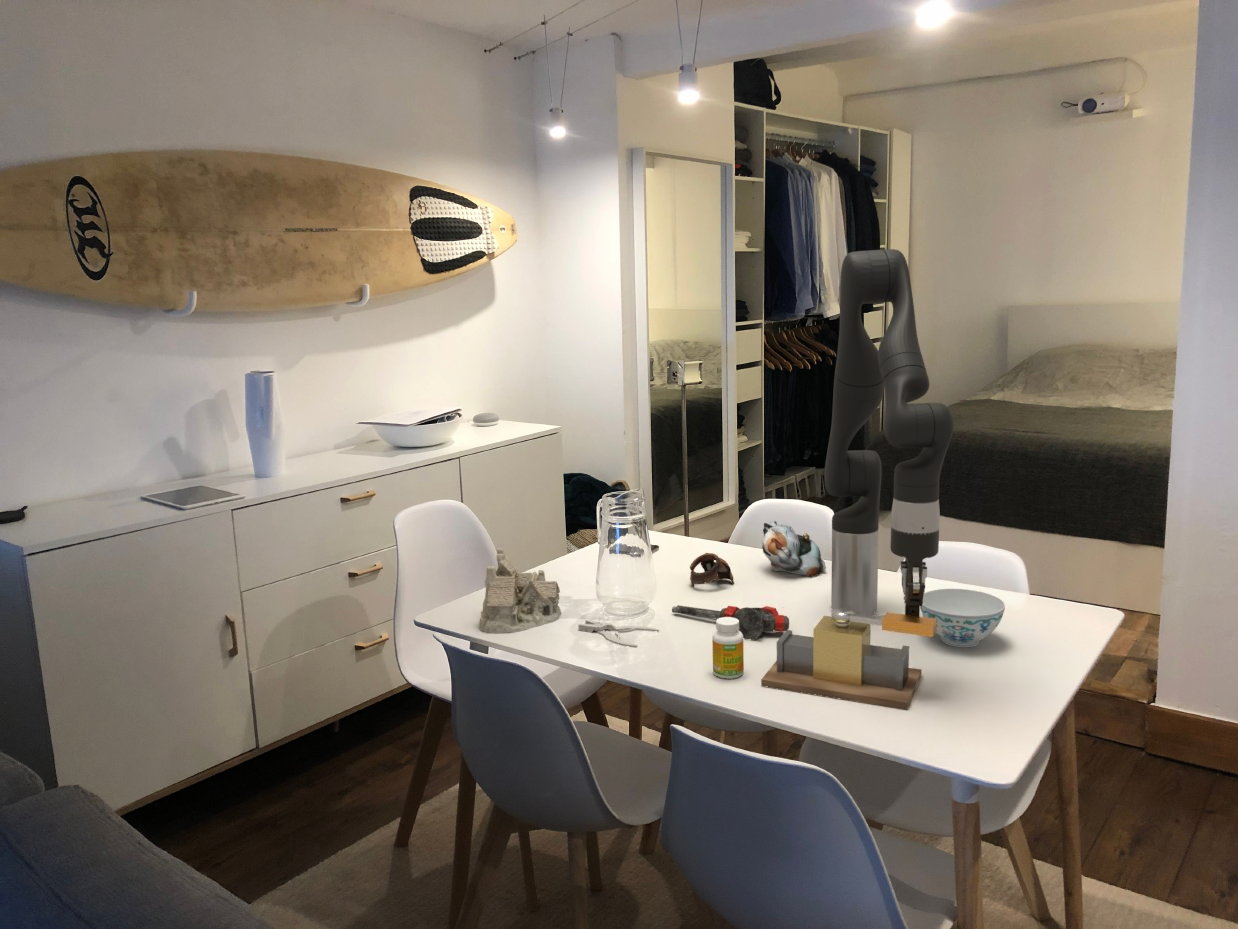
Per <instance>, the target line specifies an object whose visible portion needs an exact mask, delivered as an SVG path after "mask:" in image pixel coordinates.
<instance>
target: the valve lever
mask: <svg viewBox="0 0 1238 929" xmlns="http://www.w3.org/2000/svg"><path fill="white" fill-rule="evenodd" d="M830 617H831V618H832V620H834V621H836V622H858V623H866V624H871V625H873V626H874V625H875V626H880V627H882V628H881V630H882V631H886V632H893V633H899V634H900V633H901V634H907V635H908V634H909V635H915V636H922V637H929V638H934V636H935V634H937V633H936V631H937V619H934V618H927V617H923V616H920V615H919V616H912V615H905V613H895V612H889V611H887V612H886V613H885V615H880V614H874V613H873V614H866V613H859V612H853V611H852V610H850V609H845V608H837V609H833V610H832V609H831V616H830Z"/></svg>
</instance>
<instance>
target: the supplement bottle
mask: <svg viewBox="0 0 1238 929" xmlns="http://www.w3.org/2000/svg"><path fill="white" fill-rule="evenodd" d="M715 620H716V621H715V627H716V628H715V629H716V630H715V631H714V632H713V634H712V638H711V639H712V643H711V644H712V672H713V673H712V674H714V676H715V677H717V676H718V678H721V679H724V678H726V680H732V679H733V678H734V679H737V678H740V677H741V675H742V676H743V674H744V673H745V672H744V670H745V669H744V666H745V664H744V663H745V662H744V660H745V659H744V657H745V656H744V639H743V634H742V633H741V632H740V631H739V620H738V619H736V618H732V617H722V618H719V619H715Z"/></svg>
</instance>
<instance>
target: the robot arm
mask: <svg viewBox="0 0 1238 929" xmlns="http://www.w3.org/2000/svg"><path fill="white" fill-rule="evenodd" d="M839 281H840V284H839V285H840V286H839V329H838V330H839V331H838V332H839V333H838V334H839V335H838V343H837V344H838V345H837V354H836V361H835V362H836V363H835V369H834V379H833V397H832V416H831V427H830V433H829V439H828V444H827V445H828V446H827V452H826V457H825V458H826V459H825V462H824V463H825V465H824V474H823V475H824V487H825V489H826V491H827V493H828V494H829V496H832V497H838V498H842V497H844V498H845V497H860V498H859V499H858V501H856V502H855V503H854V504H852V505H851V506H849V507H846V508H843V509H841V510H838V511H836V512H835V513H834V514H832V518H831V585H830V586H831V588H830V589H831V592H830V593H831V594H830V595H831V596H830V598H831V600H830V602H831V603H830V604H831V607H830V608H831V611H832V610H833V609H837V608H845V609H850V610H852V611H853V612H859V613H866V614H873V615H874V614H875V613H876V612H877V611H878V587H879V586H878V584H879V583H878V578H879V522H880V521H879V520H880V498H881V488H882V487H881V486H882V472H883V471H882V462H881V458H880V455H879V454H878V452H877V451H875V450H872V449H871V450H870V449H869V450H866V449H865V450H862V449H861V450H860V449H859V450H849V446H850V444H851V443H852V441H853V439H854V437H855V435H856V434H857V433H858V431H859V430H860V429H861V428H862V427H863V426H864V425H865V424H866V423H867V421H868V420H869V419H870V418H871V417H872V415H873V414H874V413H876V412H877V409H878V408H879V407H880V405H881V403H882V400H883V398H884V397H883V396H885V409H884V410H885V411H884V419H883V420H884V421H883V432H884V437H885V439H886V440H887V441H888V443H889V444H890V445H891V446H893V447H894V448H896V449H909V448H910V449H913V448H922V450H920V453H919V454H918V455H917V456H916V457H914V458H911V459H909V460H908V459H907V460H905V461H901V462H899V463H898V464H896V466H895V468H894V470H893V471H894V472H893V498H892V499H893V500H892V506H891V513H890V514H891V515H890V517H891V518H890V547H889V548H890V551H891V553H892V554H894V555H896V556H898V557H900V558H901V557H902V558H904V560H900V565H899V566H900V572H901V588H902V593H903V595H904V596H903V601H904V615H912V616H919V617H920V611H921V608H920V606H922V604H923V596H924V593H926V591H925V590H926V579H927V577H928V566H926V565H927V563H926V561H924V560H925V559H929V558H930V559H931V558H933V557H935V556H937V555H938V553H939V550H940V549H939V546H940V544H939V542H940V539H939V538H940V522H941V514H940V499H939V498H940V478H941V471H942V468H943V464H944V461H945V457H946V454H947V451H948V449H949V446H950V443H951V440H952V436H953V433H954V426H955V425H954V417H953V413H952V412H951V409H949V407H948V406H947V405H945V404H943V403H940V402H925V403H911V402H914V401H917V400H919V399H921V398H922V397H924V396H925V395H926V394H927V393H928V392H929V389H930V379H929V375H928V372H927V368H926V364H925V362H924V358H923V354H922V352H921V348H920V343H919V338H918V332H917V323H916V313H915V306H914V304H915V303H914V298H913V292H912V282H911V276H910V269H909V265H908V262H907V259H906V257H905V255H904V253H902V251H900V250H899V249H894V248H890V249H888V248H887V249H886V248H885V249H874V250H872V249H871V250H857V251H850V252H848V253H847V254H846V255H845V256H844V259H843V261H842V265H841V269H840V280H839ZM883 303H891V306H892V316H891V318H890V321H889V324H888V326H887V328H886V330H885V332H884V333H883V336H882V339H881V340H880V343H879V345H878V346H879V347H878V348H877V346H876V345H875V344H874V342H873V340H872V339H871V337H870V335H869V334H868V332H867V330H866V328H865V325H864V323H863V320H862V306H863V305H864V304H865V305H868V304H870V305H871V304H883ZM884 391H885V392H884ZM875 411H876V412H875Z"/></svg>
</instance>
